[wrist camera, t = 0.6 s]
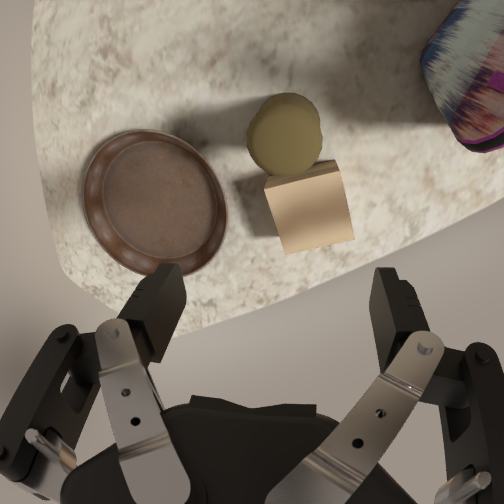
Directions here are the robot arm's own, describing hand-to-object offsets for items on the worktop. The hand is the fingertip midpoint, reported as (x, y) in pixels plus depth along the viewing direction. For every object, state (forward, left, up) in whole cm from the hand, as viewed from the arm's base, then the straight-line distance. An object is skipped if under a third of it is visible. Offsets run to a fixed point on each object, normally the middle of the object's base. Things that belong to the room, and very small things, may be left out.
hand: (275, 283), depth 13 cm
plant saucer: (+4, -15, -21) cm, 26 cm away
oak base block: (+4, +2, -21) cm, 21 cm away
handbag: (-13, +20, -21) cm, 32 cm away
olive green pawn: (-4, 0, -21) cm, 21 cm away
